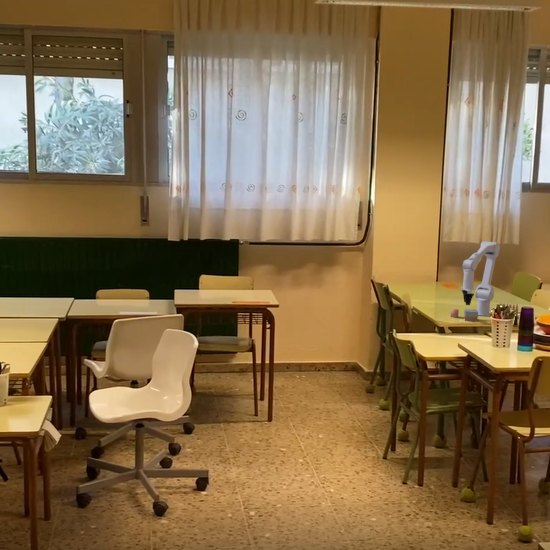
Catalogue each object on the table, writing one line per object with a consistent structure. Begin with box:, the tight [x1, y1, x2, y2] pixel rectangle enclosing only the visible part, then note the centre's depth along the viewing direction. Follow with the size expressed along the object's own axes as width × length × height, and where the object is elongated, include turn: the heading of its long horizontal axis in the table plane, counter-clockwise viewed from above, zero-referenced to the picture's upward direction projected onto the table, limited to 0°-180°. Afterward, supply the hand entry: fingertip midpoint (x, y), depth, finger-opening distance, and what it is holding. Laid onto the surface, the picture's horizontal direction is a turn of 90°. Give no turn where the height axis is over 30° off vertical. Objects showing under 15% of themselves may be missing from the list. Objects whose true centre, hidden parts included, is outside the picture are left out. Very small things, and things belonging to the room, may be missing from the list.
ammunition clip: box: [499, 303, 519, 326], centre depth 392 cm, size 11×2×12 cm, turn 79°
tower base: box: [463, 315, 479, 322], centre depth 402 cm, size 7×7×3 cm
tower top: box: [463, 308, 479, 318], centre depth 402 cm, size 7×7×3 cm
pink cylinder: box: [450, 308, 459, 319], centre depth 409 cm, size 4×4×4 cm
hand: (467, 303), depth 401 cm, fingers open, 7 cm apart
